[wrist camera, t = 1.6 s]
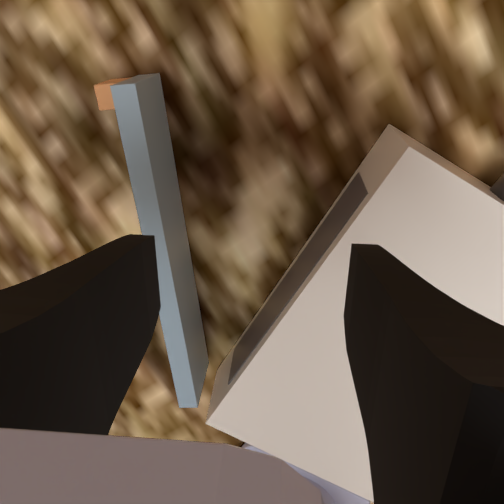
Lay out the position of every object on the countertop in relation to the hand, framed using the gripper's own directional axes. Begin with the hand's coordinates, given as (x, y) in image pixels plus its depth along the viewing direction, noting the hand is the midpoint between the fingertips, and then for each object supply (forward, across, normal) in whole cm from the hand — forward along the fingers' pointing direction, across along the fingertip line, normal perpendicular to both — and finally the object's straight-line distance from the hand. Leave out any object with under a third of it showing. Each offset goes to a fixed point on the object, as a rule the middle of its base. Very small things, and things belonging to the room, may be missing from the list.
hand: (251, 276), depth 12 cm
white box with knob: (+8, -5, +6) cm, 12 cm away
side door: (+8, +4, +3) cm, 9 cm away
